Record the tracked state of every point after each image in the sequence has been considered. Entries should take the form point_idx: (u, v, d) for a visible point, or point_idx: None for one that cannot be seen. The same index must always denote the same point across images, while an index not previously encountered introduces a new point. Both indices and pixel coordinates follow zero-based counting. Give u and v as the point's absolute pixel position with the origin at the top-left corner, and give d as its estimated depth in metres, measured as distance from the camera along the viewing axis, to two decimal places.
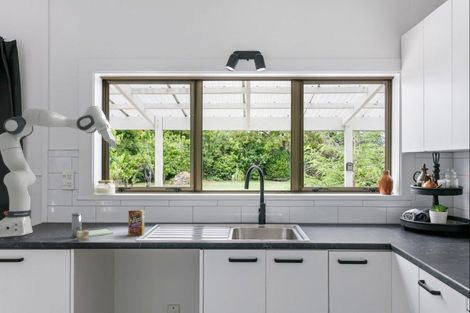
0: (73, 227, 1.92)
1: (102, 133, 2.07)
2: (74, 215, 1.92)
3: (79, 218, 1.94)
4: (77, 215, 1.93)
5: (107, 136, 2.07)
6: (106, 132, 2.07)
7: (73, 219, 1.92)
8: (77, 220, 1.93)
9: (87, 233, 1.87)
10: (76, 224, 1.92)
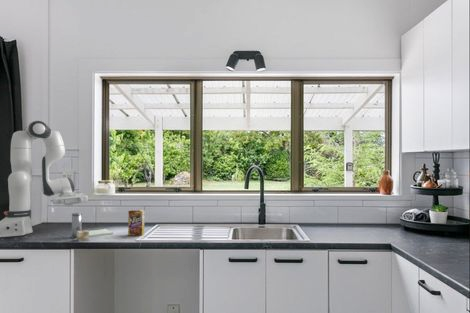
0: (73, 227, 1.92)
1: None
2: (74, 215, 1.92)
3: (79, 218, 1.94)
4: (77, 215, 1.93)
5: None
6: None
7: (73, 219, 1.92)
8: (77, 220, 1.93)
9: (87, 233, 1.87)
10: (76, 224, 1.92)
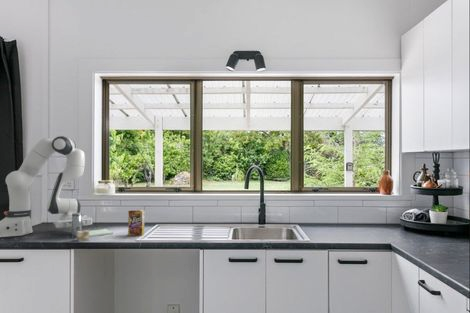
0: (73, 227, 1.92)
1: None
2: (74, 215, 1.92)
3: (79, 218, 1.94)
4: (77, 215, 1.93)
5: None
6: None
7: (73, 219, 1.92)
8: (77, 220, 1.93)
9: (87, 233, 1.87)
10: (76, 224, 1.92)
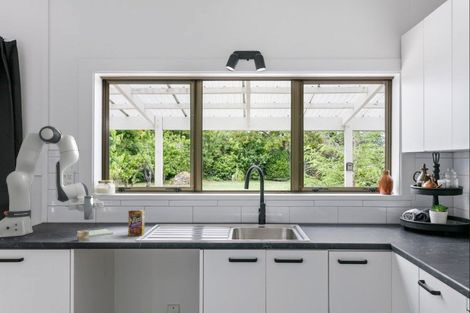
0: (85, 209, 1.98)
1: None
2: (86, 197, 1.98)
3: (91, 200, 1.99)
4: (89, 197, 1.98)
5: None
6: None
7: (85, 201, 1.98)
8: (89, 202, 1.98)
9: (87, 233, 1.87)
10: (88, 206, 1.98)
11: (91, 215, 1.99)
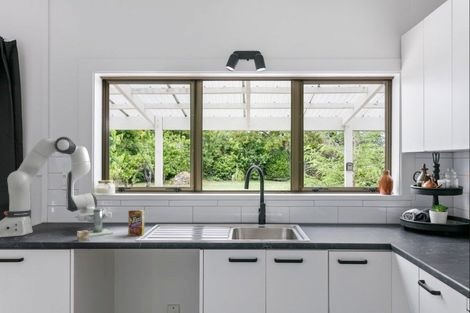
0: (95, 222, 2.03)
1: None
2: (96, 211, 2.03)
3: (100, 214, 2.04)
4: (98, 211, 2.03)
5: None
6: None
7: (95, 214, 2.03)
8: (98, 216, 2.03)
9: (87, 233, 1.87)
10: (98, 219, 2.03)
11: (100, 228, 2.04)
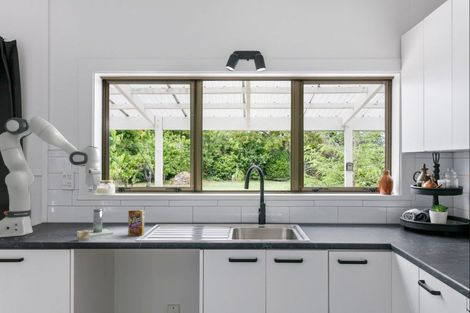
0: (95, 222, 2.03)
1: (95, 177, 2.07)
2: (96, 211, 2.03)
3: (100, 214, 2.04)
4: (99, 211, 2.03)
5: (98, 182, 2.08)
6: (99, 178, 2.09)
7: (95, 214, 2.03)
8: (98, 216, 2.03)
9: (87, 233, 1.87)
10: (98, 219, 2.03)
11: (100, 228, 2.04)
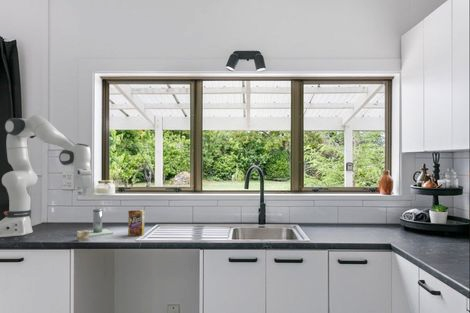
0: (95, 222, 2.03)
1: (84, 178, 1.83)
2: (95, 211, 2.03)
3: (100, 214, 2.04)
4: (98, 211, 2.03)
5: (88, 184, 1.84)
6: (89, 179, 1.85)
7: (94, 215, 2.03)
8: (98, 216, 2.03)
9: (87, 233, 1.87)
10: (97, 219, 2.03)
11: (100, 228, 2.04)
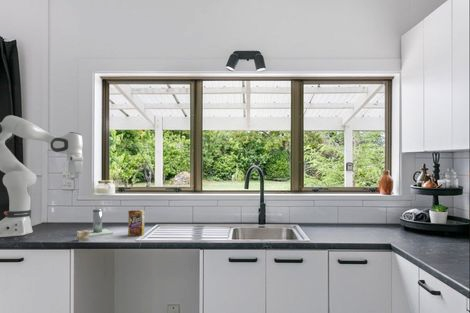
0: (95, 222, 2.03)
1: (76, 164, 1.98)
2: (95, 211, 2.02)
3: (100, 214, 2.04)
4: (98, 211, 2.03)
5: (79, 169, 1.98)
6: (80, 165, 1.99)
7: (94, 215, 2.03)
8: (98, 216, 2.03)
9: (87, 233, 1.87)
10: (97, 219, 2.03)
11: (100, 228, 2.04)
